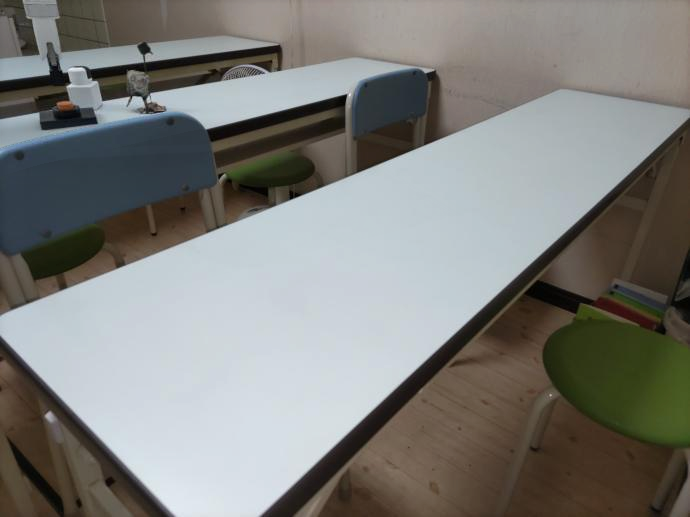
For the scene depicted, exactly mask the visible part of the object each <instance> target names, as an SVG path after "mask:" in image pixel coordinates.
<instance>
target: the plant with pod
mask: <svg viewBox="0 0 690 517" xmlns="http://www.w3.org/2000/svg"><path fill="white" fill-rule="evenodd" d="M136 48H137V50H138V52H139V53H140V54H141V55H142V59H143V60H142V61H143V67H144V71H145V72H144V71H139V70H134V69H131V70H127V72H126V86H125V87H126V93H127V94H128V96H129V98H128V100H127V103H126V105H125V106H126V108H128V107H129V106H130V104H131V102H132V100H133V97H137V98H141V100H142V101H143V104H144V107H139V108H137V111H138V110H140V109H142V110H140V112H139V115H147V114H153V113H154V112H155V113H156V112H165V111H166V109H167V106H166V105H160V104H158V102H157V101H152V95H151V90H150V83H151V81H150V76H149V74H148V71H147V65H146V55H147V54H150V55H154V53H153V52H152V48H151V47H150V45H149V44H148V42H147V41H146V40H142V41H141V42H139V43H137V45H136ZM148 98H149V100H150V102H148ZM143 108H144V109H143ZM145 113H147V114H145Z"/></svg>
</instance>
